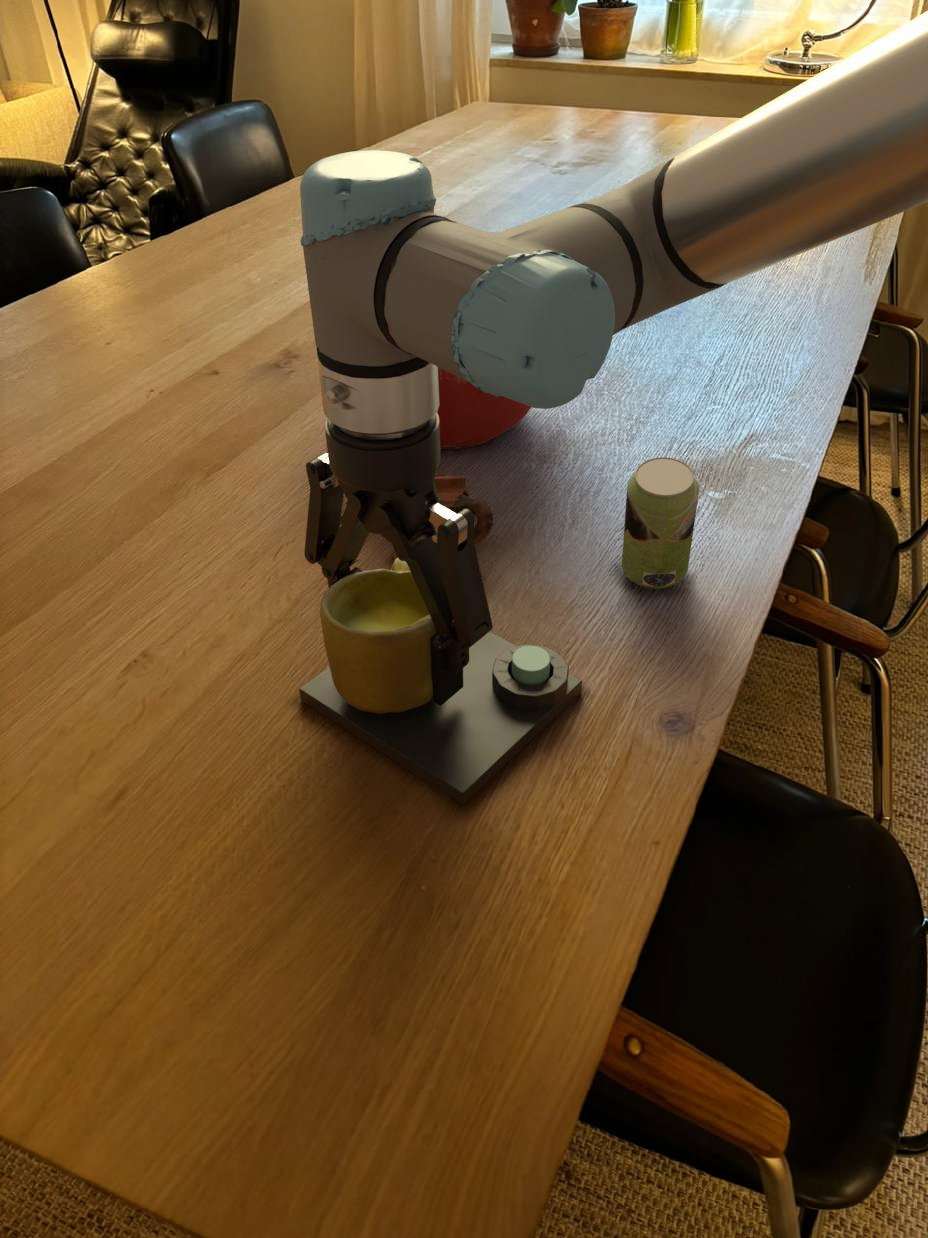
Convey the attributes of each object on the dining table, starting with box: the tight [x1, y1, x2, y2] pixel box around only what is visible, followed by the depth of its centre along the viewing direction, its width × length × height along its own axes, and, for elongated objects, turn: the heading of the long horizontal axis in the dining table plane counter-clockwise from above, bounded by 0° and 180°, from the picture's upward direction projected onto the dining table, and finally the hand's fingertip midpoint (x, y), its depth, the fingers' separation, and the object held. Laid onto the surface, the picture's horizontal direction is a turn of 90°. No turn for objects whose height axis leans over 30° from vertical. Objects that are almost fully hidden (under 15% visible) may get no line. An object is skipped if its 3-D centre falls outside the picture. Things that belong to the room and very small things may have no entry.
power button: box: [512, 646, 550, 685], centre depth 78 cm, size 3×3×2 cm
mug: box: [319, 558, 437, 714], centre depth 76 cm, size 12×10×10 cm
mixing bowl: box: [309, 305, 532, 450], centre depth 110 cm, size 28×28×16 cm
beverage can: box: [621, 456, 700, 589], centre depth 88 cm, size 6×7×12 cm
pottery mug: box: [391, 474, 495, 561], centre depth 95 cm, size 12×10×8 cm
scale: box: [298, 631, 583, 806], centre depth 79 cm, size 17×15×3 cm
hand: (399, 666), depth 79 cm, fingers closed on mug, 9 cm apart
